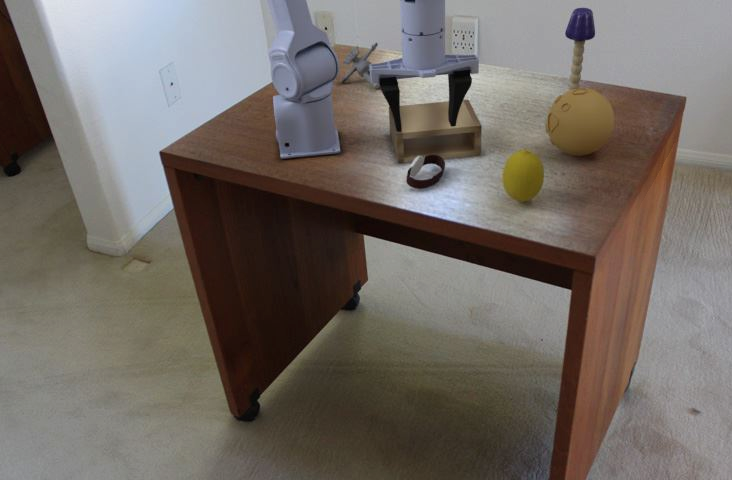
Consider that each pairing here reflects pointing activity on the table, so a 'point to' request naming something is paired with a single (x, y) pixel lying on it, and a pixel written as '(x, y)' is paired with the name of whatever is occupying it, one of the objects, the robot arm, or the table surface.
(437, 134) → the shelf
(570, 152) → the stress ball
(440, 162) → the watch
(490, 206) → the table surface
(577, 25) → the toy lamp
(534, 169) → the lemon
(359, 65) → the gray toy figurine
